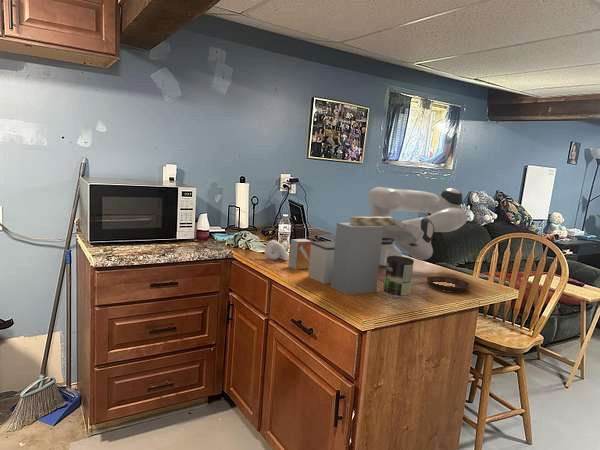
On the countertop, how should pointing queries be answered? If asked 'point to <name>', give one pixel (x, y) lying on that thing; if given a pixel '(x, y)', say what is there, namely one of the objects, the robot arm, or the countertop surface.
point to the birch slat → (371, 221)
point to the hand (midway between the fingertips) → (385, 220)
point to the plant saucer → (459, 284)
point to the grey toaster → (321, 261)
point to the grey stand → (356, 258)
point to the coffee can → (398, 276)
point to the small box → (299, 253)
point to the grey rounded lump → (276, 250)
